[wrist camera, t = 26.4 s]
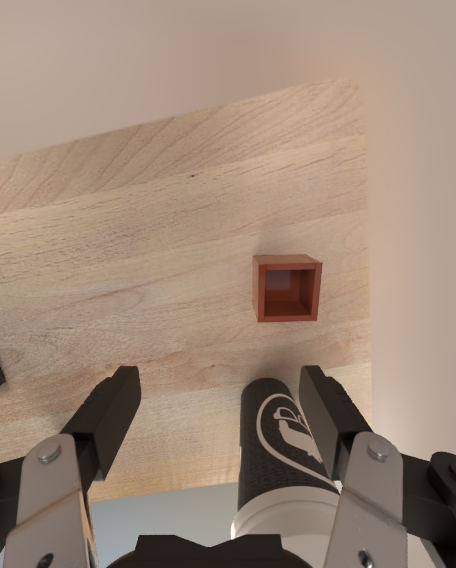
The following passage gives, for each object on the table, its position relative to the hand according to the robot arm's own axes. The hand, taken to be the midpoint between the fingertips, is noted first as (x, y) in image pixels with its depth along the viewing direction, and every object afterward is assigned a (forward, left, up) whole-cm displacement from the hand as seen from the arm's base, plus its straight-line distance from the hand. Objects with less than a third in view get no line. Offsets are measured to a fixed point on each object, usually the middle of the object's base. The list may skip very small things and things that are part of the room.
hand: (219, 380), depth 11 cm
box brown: (-1, +6, -15) cm, 16 cm away
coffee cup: (+15, +5, -15) cm, 22 cm away
